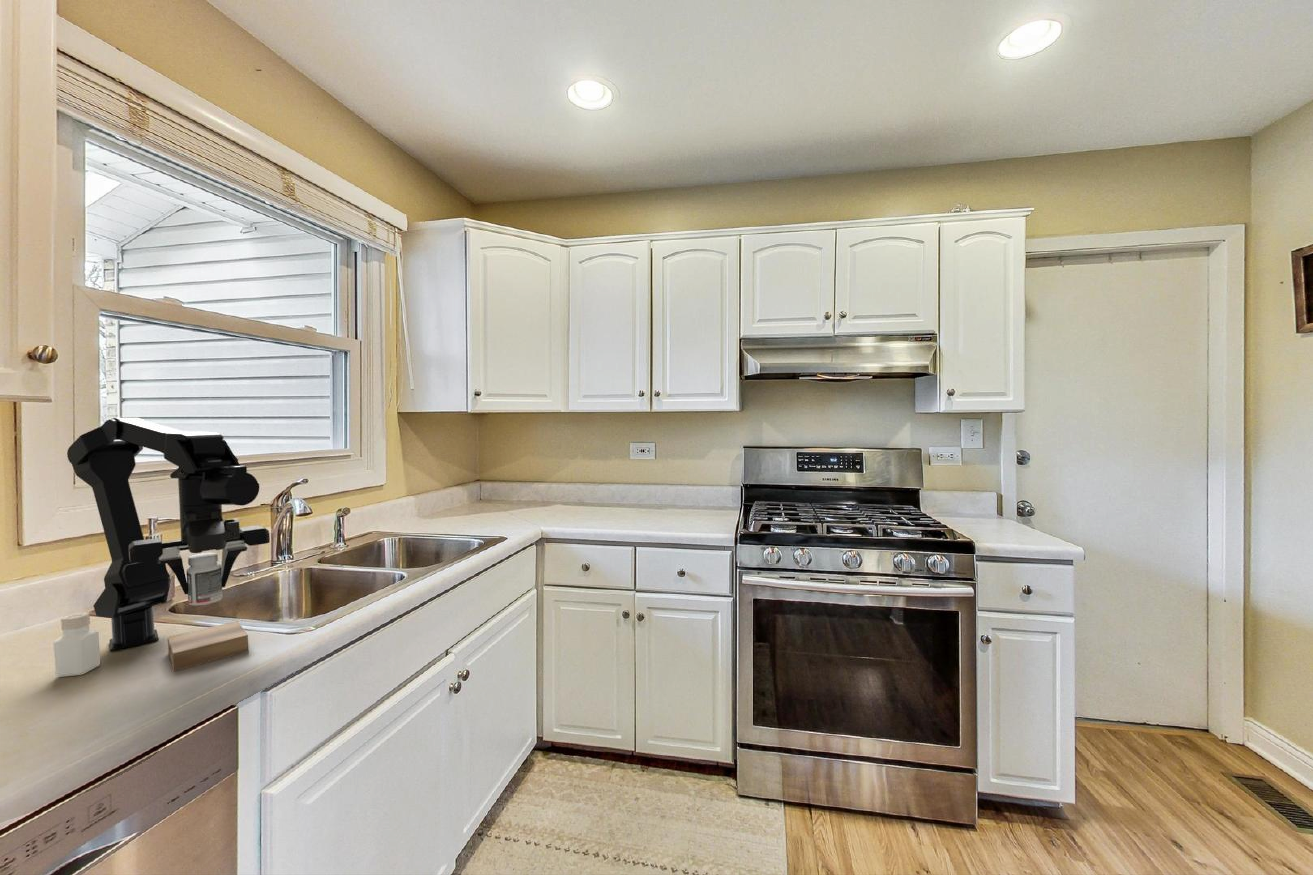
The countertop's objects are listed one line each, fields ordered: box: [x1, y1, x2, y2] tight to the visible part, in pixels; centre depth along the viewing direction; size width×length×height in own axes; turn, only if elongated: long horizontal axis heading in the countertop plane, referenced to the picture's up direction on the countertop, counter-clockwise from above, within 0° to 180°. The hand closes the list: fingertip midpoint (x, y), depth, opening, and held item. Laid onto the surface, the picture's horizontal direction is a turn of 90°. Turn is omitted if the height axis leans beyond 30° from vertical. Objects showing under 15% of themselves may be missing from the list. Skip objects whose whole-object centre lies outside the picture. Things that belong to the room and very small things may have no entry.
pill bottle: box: [185, 552, 223, 606], centre depth 96 cm, size 5×5×8 cm
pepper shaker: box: [53, 612, 101, 678], centre depth 90 cm, size 4×4×10 cm
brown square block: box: [167, 620, 250, 672], centre depth 96 cm, size 10×10×3 cm
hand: (205, 590), depth 96 cm, fingers closed on pill bottle, 5 cm apart
